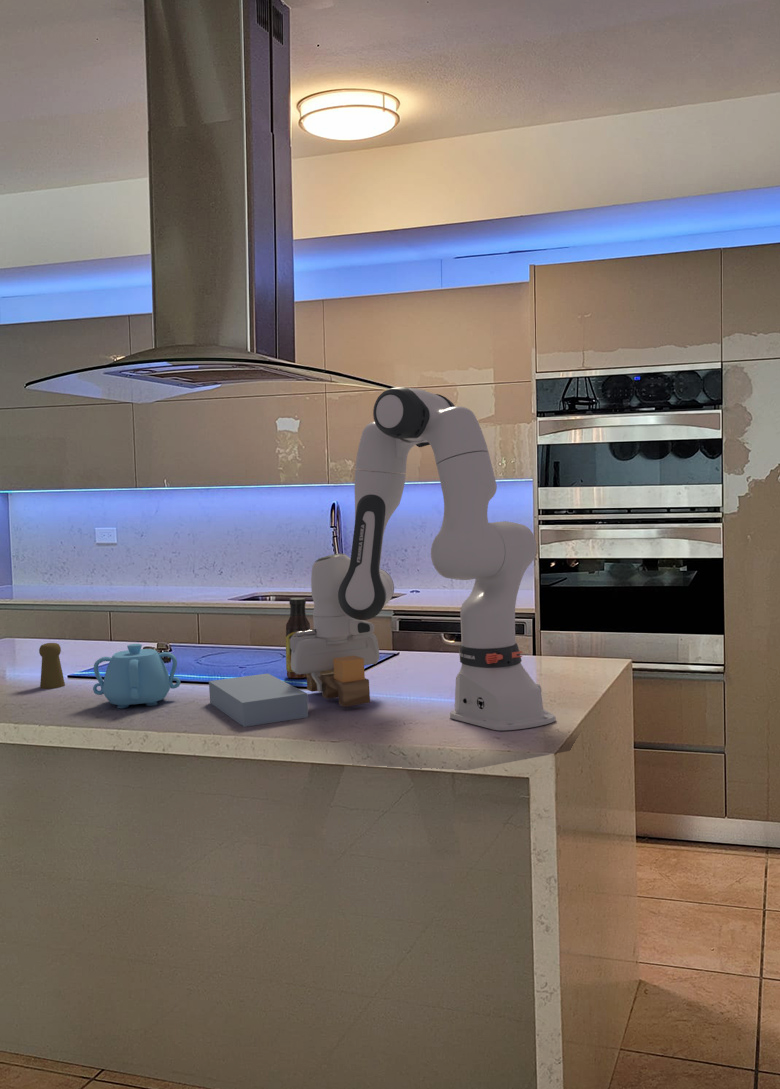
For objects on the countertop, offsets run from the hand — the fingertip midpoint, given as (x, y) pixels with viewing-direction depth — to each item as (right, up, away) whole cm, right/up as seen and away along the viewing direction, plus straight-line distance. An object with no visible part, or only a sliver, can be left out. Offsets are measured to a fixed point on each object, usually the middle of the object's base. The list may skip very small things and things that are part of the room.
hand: (337, 688), depth 226 cm
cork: (-74, -4, +31) cm, 80 cm away
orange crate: (+3, +3, -7) cm, 8 cm away
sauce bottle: (-11, -1, +29) cm, 31 cm away
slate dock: (-17, -4, -5) cm, 18 cm away
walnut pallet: (0, -2, 0) cm, 2 cm away
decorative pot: (-46, -5, +8) cm, 47 cm away
